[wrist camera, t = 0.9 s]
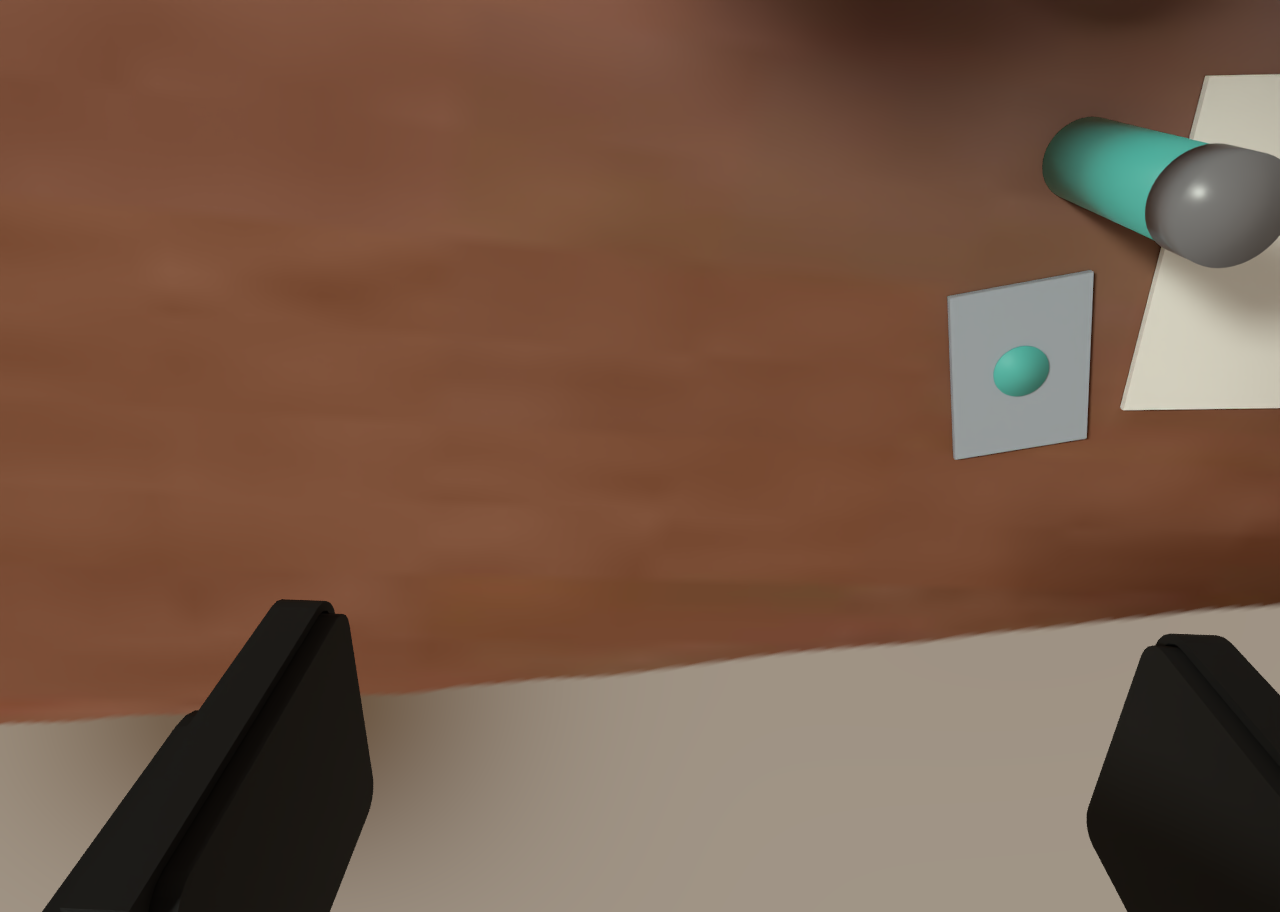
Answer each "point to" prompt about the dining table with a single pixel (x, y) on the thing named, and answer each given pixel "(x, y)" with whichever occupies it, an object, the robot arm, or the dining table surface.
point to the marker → (1170, 188)
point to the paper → (1216, 287)
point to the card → (1020, 364)
